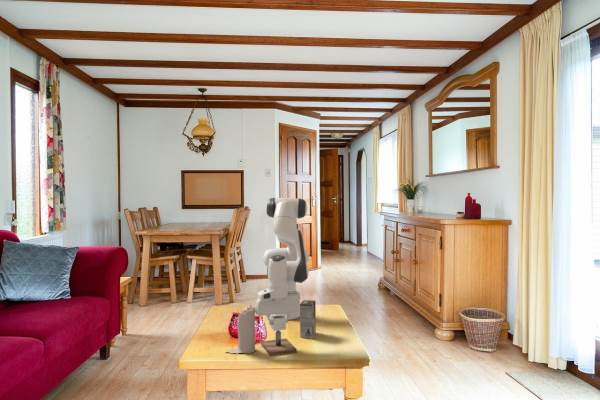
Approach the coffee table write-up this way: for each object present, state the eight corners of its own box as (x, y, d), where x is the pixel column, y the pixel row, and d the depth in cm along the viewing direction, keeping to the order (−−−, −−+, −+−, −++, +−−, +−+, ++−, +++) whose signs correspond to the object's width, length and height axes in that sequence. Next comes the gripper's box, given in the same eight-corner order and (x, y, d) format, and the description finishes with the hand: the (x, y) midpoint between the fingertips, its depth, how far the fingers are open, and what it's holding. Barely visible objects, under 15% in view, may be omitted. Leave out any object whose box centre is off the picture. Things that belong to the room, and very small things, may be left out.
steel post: (275, 344, 189) (274, 330, 189) (280, 343, 189) (280, 329, 189) (276, 346, 186) (276, 331, 186) (281, 345, 187) (281, 330, 187)
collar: (270, 327, 190) (270, 316, 190) (282, 326, 191) (282, 315, 191) (274, 330, 184) (274, 319, 184) (285, 329, 186) (285, 318, 186)
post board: (261, 344, 193) (261, 341, 193) (286, 341, 197) (286, 338, 197) (269, 355, 179) (269, 352, 179) (296, 352, 183) (296, 348, 183)
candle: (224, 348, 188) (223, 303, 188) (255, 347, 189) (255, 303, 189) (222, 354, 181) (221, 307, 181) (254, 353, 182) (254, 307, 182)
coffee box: (303, 331, 212) (303, 299, 212) (316, 332, 210) (315, 300, 210) (299, 337, 203) (299, 304, 203) (313, 338, 201) (312, 304, 201)
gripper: (297, 289, 194) (297, 319, 194) (254, 292, 188) (254, 324, 188) (302, 292, 189) (302, 323, 188) (257, 295, 182) (257, 328, 182)
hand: (278, 323), depth 188 cm, fingers closed on collar, 5 cm apart
